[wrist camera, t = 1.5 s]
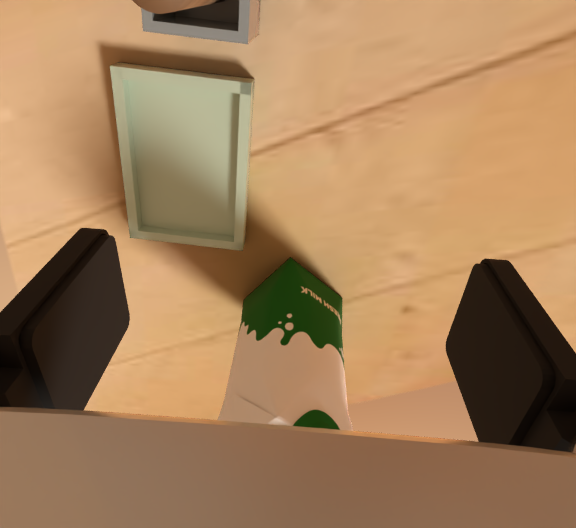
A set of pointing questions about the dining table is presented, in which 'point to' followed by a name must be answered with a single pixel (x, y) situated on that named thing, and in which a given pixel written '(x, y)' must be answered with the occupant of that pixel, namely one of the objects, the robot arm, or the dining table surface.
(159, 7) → the pin
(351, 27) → the dining table surface
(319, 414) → the milk carton
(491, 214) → the dining table surface
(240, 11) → the grey square bin
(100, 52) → the dining table surface
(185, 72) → the tray
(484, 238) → the dining table surface
